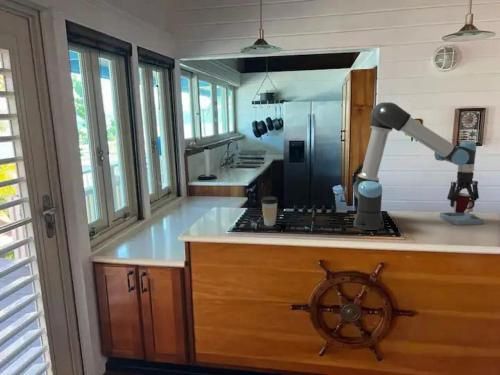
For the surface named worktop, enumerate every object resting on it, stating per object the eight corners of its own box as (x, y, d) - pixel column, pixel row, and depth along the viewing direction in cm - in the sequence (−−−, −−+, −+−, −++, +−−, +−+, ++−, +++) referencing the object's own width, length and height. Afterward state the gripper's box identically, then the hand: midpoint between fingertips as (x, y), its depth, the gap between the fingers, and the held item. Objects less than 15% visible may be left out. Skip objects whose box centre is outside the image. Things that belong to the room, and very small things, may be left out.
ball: (465, 215, 214) (465, 209, 213) (461, 213, 217) (461, 207, 216) (470, 215, 214) (471, 209, 213) (466, 213, 217) (467, 207, 217)
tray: (457, 225, 197) (457, 220, 196) (439, 216, 212) (440, 212, 211) (483, 224, 198) (483, 219, 197) (464, 215, 213) (464, 211, 212)
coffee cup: (281, 226, 203) (281, 199, 200) (265, 228, 199) (264, 201, 196) (273, 221, 211) (273, 195, 208) (258, 223, 208) (257, 197, 205)
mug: (470, 211, 206) (473, 194, 204) (474, 215, 199) (477, 197, 196) (449, 209, 209) (452, 192, 207) (452, 213, 201) (455, 194, 199)
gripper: (450, 173, 194) (446, 215, 199) (489, 171, 196) (485, 212, 201) (441, 171, 202) (438, 211, 206) (480, 169, 204) (475, 209, 208)
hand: (461, 211), depth 204 cm, fingers closed on mug, 9 cm apart
